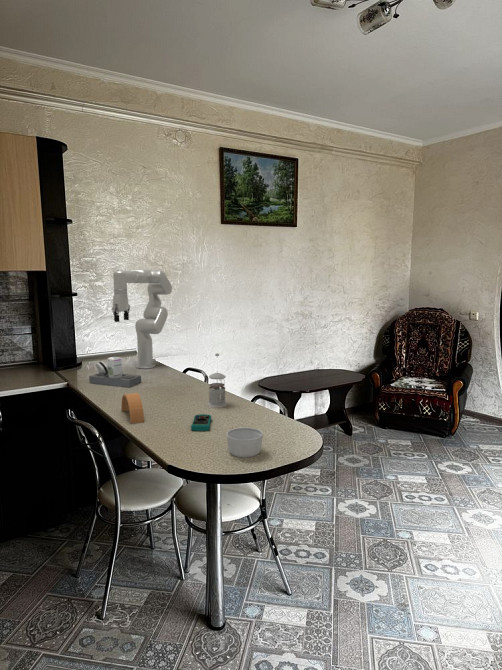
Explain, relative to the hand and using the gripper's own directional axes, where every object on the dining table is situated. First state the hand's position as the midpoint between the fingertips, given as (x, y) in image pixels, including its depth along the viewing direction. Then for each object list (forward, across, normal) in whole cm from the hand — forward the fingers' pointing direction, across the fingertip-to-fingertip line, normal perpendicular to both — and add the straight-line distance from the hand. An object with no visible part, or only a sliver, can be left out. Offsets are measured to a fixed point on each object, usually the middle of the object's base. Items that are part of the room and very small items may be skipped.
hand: (121, 320), depth 279 cm
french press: (+33, +36, +77) cm, 91 cm away
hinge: (+33, +6, -9) cm, 35 cm away
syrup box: (+33, +18, +7) cm, 38 cm away
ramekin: (+32, +87, +109) cm, 143 cm away
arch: (+33, +66, +48) cm, 88 cm away
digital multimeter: (+33, +66, +82) cm, 111 cm away
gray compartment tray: (+33, +18, +7) cm, 38 cm away
